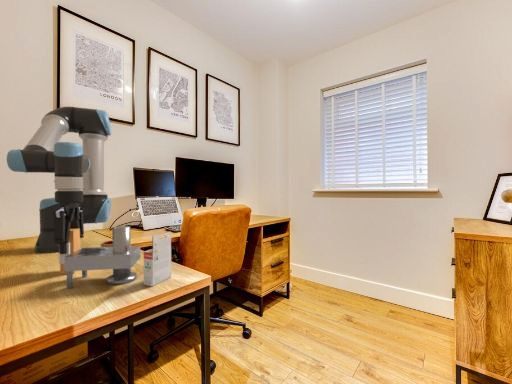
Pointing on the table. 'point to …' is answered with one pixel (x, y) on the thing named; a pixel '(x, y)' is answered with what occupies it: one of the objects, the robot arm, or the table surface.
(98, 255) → the legged grey stand
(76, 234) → the orange rectangular prism
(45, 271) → the table surface
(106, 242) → the mug
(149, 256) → the ink box
